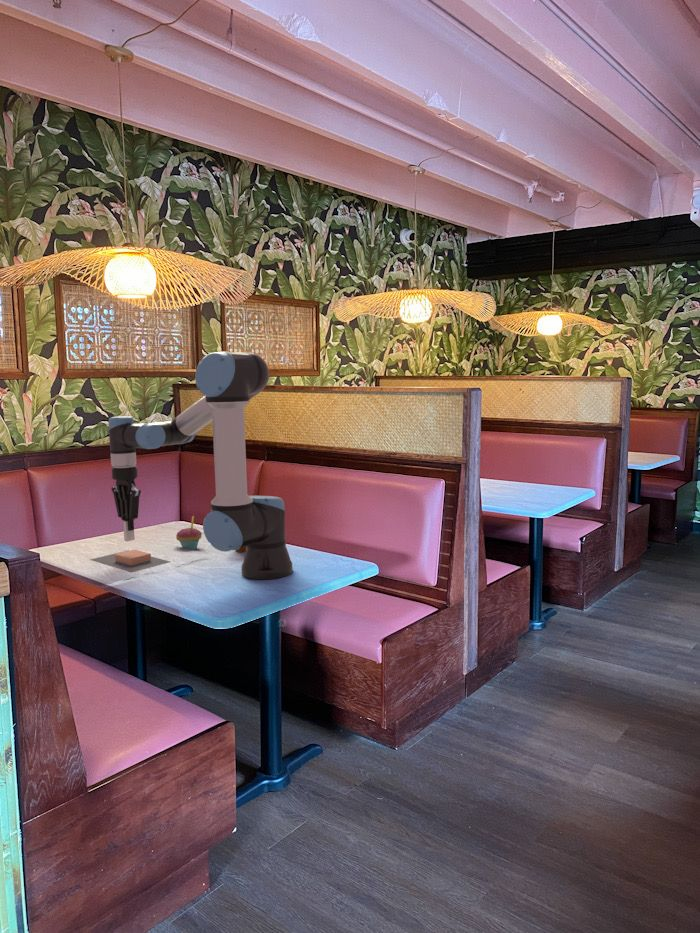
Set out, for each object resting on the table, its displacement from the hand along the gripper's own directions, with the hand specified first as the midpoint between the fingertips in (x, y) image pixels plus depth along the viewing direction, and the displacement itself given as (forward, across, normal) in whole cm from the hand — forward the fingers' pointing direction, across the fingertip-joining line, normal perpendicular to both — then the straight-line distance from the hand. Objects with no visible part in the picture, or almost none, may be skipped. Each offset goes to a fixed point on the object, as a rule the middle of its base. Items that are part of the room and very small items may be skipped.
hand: (129, 540), depth 217 cm
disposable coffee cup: (+8, -16, -33) cm, 38 cm away
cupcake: (+8, +1, -23) cm, 24 cm away
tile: (+5, +3, 0) cm, 6 cm away
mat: (+8, +1, 0) cm, 8 cm away
